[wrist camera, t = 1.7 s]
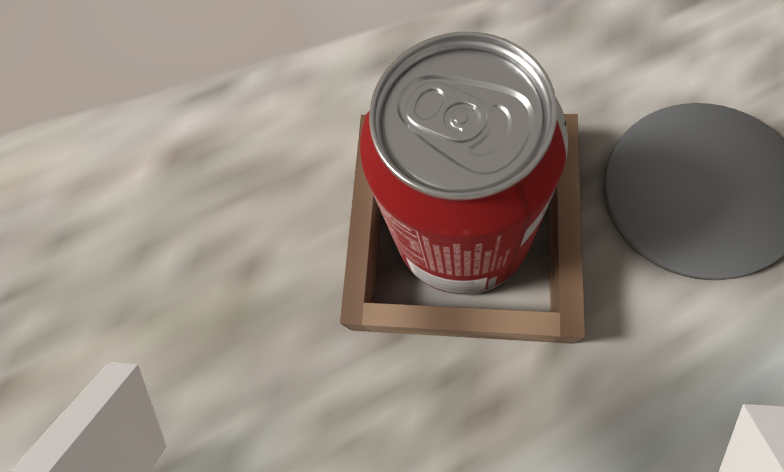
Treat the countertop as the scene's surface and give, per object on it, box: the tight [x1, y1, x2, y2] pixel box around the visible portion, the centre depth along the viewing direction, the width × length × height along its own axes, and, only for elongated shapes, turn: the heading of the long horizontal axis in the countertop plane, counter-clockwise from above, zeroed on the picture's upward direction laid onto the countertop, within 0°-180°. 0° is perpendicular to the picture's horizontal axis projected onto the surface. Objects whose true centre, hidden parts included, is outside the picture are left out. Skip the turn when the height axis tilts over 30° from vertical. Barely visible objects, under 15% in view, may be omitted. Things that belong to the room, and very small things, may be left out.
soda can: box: [360, 32, 568, 295], centre depth 21 cm, size 7×7×12 cm
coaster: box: [604, 103, 784, 280], centre depth 25 cm, size 9×9×1 cm
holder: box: [340, 114, 585, 343], centre depth 26 cm, size 11×11×2 cm
